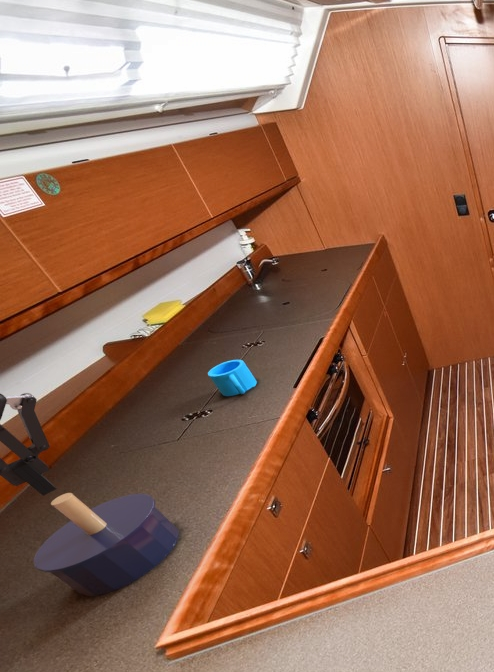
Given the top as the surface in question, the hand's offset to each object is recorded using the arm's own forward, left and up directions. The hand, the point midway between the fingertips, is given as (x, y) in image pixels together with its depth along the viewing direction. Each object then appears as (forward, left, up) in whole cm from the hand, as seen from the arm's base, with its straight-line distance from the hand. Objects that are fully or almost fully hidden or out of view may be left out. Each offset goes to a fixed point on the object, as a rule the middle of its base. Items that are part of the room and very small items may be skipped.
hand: (47, 489), depth 70 cm
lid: (0, 0, -12) cm, 12 cm away
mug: (-41, +36, -22) cm, 59 cm away
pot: (0, 0, -22) cm, 22 cm away
